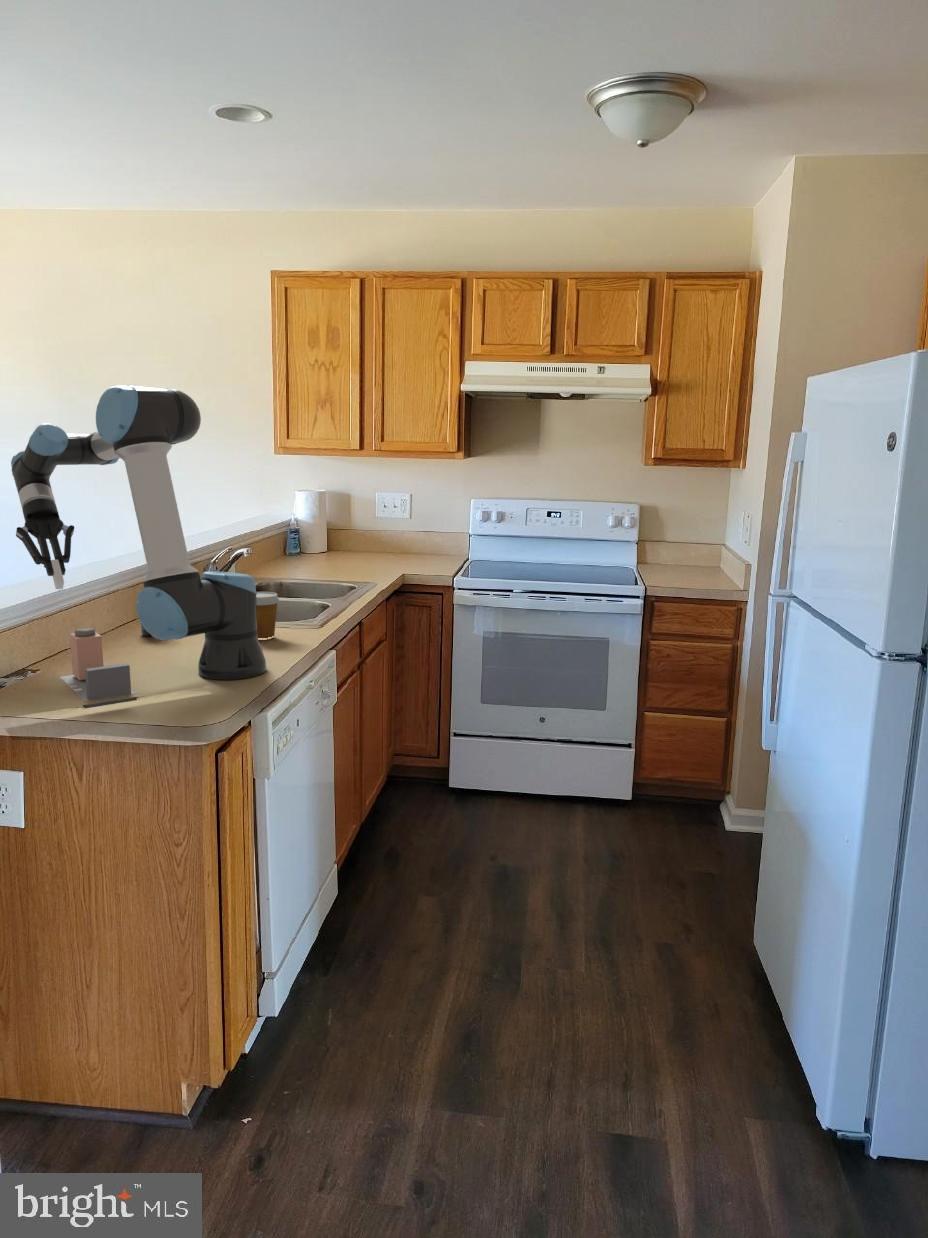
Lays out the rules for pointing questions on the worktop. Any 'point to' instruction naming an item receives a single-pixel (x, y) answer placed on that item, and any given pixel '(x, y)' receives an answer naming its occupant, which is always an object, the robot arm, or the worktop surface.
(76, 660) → the terracotta plug block
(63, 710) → the worktop surface
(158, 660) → the worktop surface
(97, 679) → the slate track
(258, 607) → the disposable coffee cup
